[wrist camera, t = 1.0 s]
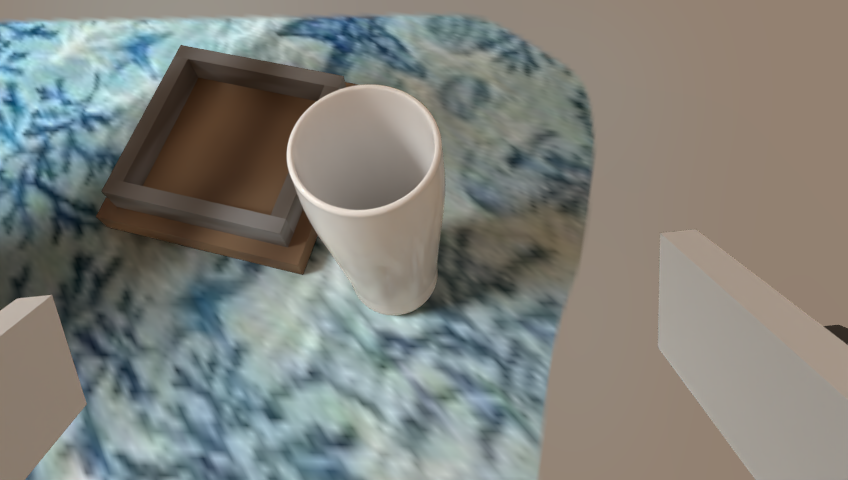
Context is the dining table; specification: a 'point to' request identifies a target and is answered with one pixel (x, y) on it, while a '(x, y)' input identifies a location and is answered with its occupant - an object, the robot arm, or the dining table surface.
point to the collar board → (219, 160)
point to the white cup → (373, 190)
